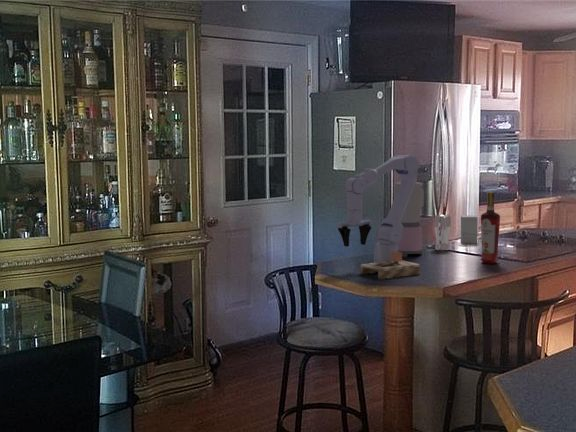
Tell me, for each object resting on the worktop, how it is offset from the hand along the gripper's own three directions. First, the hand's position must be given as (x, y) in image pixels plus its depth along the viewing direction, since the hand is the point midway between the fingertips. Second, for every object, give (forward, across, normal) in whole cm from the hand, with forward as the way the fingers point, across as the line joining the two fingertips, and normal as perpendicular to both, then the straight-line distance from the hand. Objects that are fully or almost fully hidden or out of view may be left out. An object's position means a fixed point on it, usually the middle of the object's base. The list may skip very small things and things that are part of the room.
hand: (354, 245), depth 268 cm
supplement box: (+10, +83, +26) cm, 88 cm away
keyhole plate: (+9, +6, -14) cm, 18 cm away
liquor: (+10, +52, -18) cm, 56 cm away
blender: (+10, +40, +16) cm, 44 cm away
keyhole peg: (+9, +9, -14) cm, 19 cm away
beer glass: (+10, +60, +18) cm, 63 cm away
